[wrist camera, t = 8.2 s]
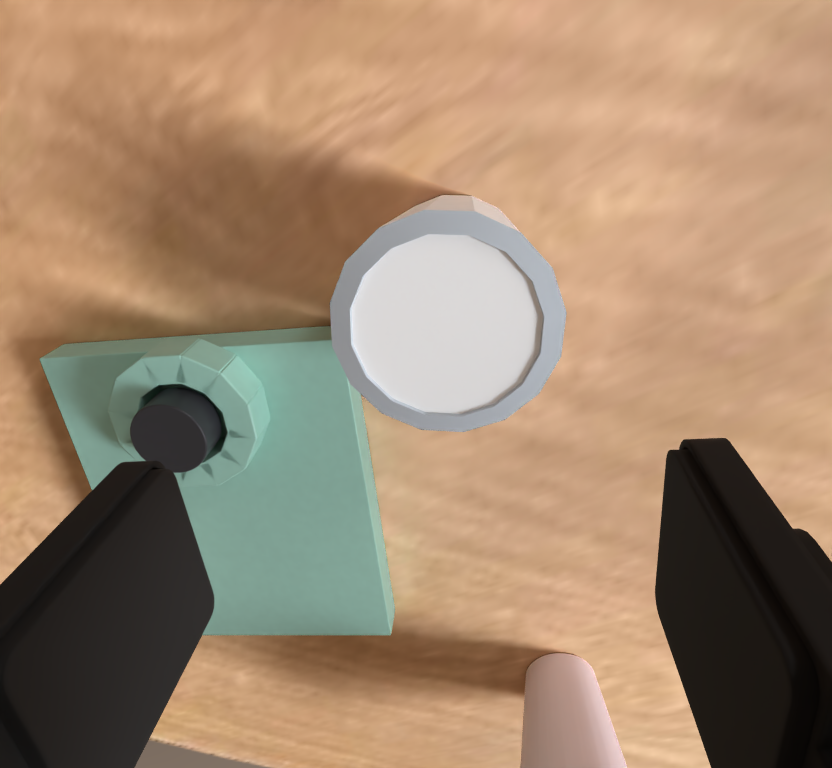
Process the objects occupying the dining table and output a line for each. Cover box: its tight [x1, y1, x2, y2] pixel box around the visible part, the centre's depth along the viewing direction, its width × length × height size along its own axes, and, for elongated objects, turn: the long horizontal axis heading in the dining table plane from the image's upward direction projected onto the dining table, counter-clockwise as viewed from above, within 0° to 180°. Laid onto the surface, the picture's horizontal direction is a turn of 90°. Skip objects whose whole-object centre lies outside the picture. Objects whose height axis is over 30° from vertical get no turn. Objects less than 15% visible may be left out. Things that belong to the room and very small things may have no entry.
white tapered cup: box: [330, 195, 566, 432], centre depth 20 cm, size 7×7×7 cm
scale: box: [40, 326, 395, 635], centre depth 28 cm, size 16×13×4 cm
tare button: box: [130, 388, 222, 473], centre depth 23 cm, size 3×3×2 cm
